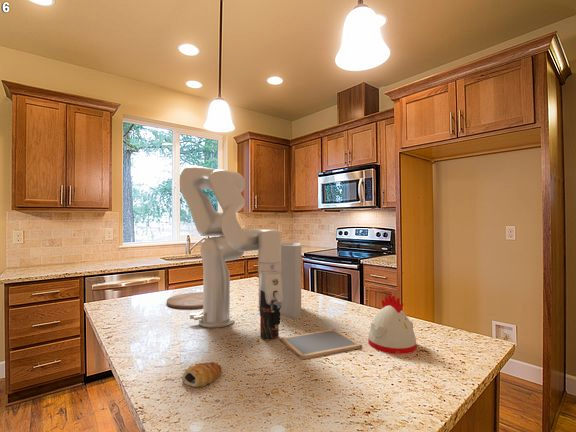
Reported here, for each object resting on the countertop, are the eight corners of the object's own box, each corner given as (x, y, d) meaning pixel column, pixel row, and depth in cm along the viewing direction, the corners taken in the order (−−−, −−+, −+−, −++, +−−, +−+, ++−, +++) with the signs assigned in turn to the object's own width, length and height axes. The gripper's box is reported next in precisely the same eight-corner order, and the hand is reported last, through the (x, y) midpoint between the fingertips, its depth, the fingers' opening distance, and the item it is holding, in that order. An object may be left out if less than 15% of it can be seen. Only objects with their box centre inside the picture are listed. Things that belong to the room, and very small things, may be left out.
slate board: (301, 359, 87) (301, 356, 87) (280, 340, 101) (280, 337, 101) (361, 347, 95) (361, 344, 95) (334, 331, 109) (334, 329, 109)
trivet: (154, 304, 145) (155, 299, 145) (199, 293, 165) (199, 290, 165) (190, 313, 130) (190, 308, 130) (234, 300, 151) (234, 296, 151)
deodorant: (276, 340, 100) (276, 292, 101) (258, 339, 102) (258, 291, 102) (280, 334, 106) (280, 288, 106) (263, 332, 107) (263, 288, 108)
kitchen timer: (391, 357, 88) (391, 303, 88) (359, 341, 100) (359, 293, 101) (426, 348, 95) (426, 297, 95) (391, 333, 107) (391, 288, 107)
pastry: (209, 367, 82) (209, 353, 82) (228, 375, 79) (228, 359, 79) (179, 383, 74) (179, 366, 75) (199, 392, 71) (199, 375, 71)
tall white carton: (315, 310, 134) (315, 243, 134) (294, 319, 122) (294, 245, 122) (279, 303, 145) (280, 241, 146) (257, 310, 134) (258, 243, 134)
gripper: (291, 270, 98) (291, 326, 98) (271, 263, 114) (270, 311, 113) (268, 272, 95) (268, 330, 94) (250, 264, 111) (250, 314, 110)
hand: (269, 319), depth 104 cm, fingers open, 9 cm apart
